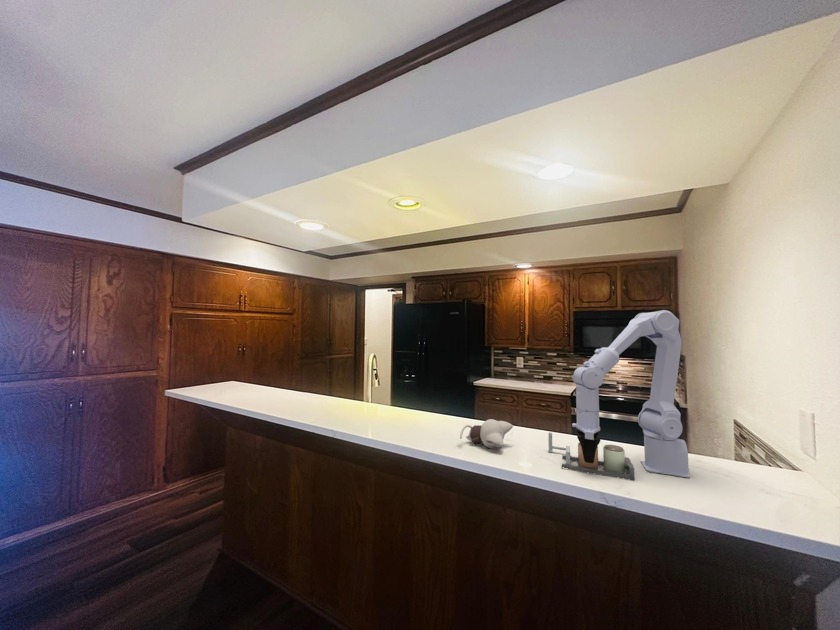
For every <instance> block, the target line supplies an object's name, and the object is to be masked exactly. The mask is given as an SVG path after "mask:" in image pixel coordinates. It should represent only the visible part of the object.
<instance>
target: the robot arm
mask: <svg viewBox="0 0 840 630" xmlns="http://www.w3.org/2000/svg"><path fill="white" fill-rule="evenodd" d="M628 322H629V323H628V325H627V326H626V327H625V328H624V329H623V330H622V331H621V333H619V334H618V336H617V337H616V338H615V339H614V340H613V341H612V342H611V343H610V344H609V346H607V347H604V346H603V347H600V348H596V349H595V350H594V354H593V355H592V357H590V358H589V359H588V360H587V361H584V362H583V363H582V364H583V366H579V367H577V368H576V369H575V370H574V372H573V375H571V379H572V381H573V383H574V384H575V388H576V389H575V397H576V398H575V403H576V405H575V406H576V408H575V409H576V412H575V413H576V423H575V422H573V423H572V424H571V426H572V428H576V432H577V434H576V436H577V440H578V443H579V442H580V444H581V447H582V452H583V457H584V461H585V462H587V463H594V459H595V453H596V449H597V446H598V447H599V445H600V443H601V438H600V437H598V436H599V432H600V431H601V426H600V397H599V396H600V394H599V393H600V392H599V389H600V388H599V387H600V386H602V385H603V383H604V377H605V376H606V375H607V374H608V373H609V372H610V371H611V370H612V369H613V368H614V367H615V366H616V365H617V364H618V363H619V362H620V355H621V354H622V353H623V352H624V351H625V350H627V349H628V348H629V347H630V346H632V344H633V343H634V342H636V341H637V340H638V339H639V338H641V337H646V338H648V339H649V340H651V341H652V342H653V344H655V346H656V352H655V358H654V365H653V373H652V380H651V387H650V394H649V399H648V400H646V401H645V402H644V403H643V404H642V409H641V411H640V412H639V414H637V415H638V416H637V422H638V426H639V427H641V429H642V433H643V444H644V445H643V446H644V459H642V460H641V459H640V463H641V465H643V468H644V470H645V471H646V472H651V473H657V474H664V475H668V476H677V477H682V478H688V479H689V478H690V475H689V474H690V473H689V471H690V470H689V469H690V468H689V452H688V451H689V450H688V446H687V442H686V441H685V440H684V439H682V438H681V439H680V436H681V435H682V433H683V424H682V421H681V412H680V411H679V409H678V408H677V407H676V406H675V404H674V403H675V397H676V389H677V382H678V374H679V367H680V358H681V353H682V341H683V340H682V338H681V335H680V331H679V327H680V326H679V325H680V319H679V318H678V317H676V315H675V314H674V313H673V312H671V311H670V310H666V309H662V310H657V311H651V312H649V311H648V312H639V313H638V314H637V315H635V316H634V318H632V319H631V320H630V321H628Z"/></svg>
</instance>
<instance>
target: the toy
mask: <svg viewBox="0 0 840 630" xmlns="http://www.w3.org/2000/svg"><path fill="white" fill-rule="evenodd" d="M466 428H470V430H469V433H468V435H467V436H465V438H466V439H467V440H469V442H471V443H473V444H475V445H477V444H483V445H484V446H485V447H486V448H488V450H490V449H492V448H493V449H494V448H496V447H498V446H499V447H500V446H504V438H505V435H506V434H507V433H509V432H510V431H511V430H512V428H514V425H513V424H511V423H509V422H507V421H505V420H495V419H493V418H492V419H491V418H490V419H487V420H485V421H484V422H482V425H476V424H474V425H473V426H472V425H470V424H465V425H464V426H463V427H462V428H461V431H460V434H459V439H460V440H461V439H463V433H464V431H465V430H466Z"/></svg>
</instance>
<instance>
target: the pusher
mask: <svg viewBox="0 0 840 630" xmlns="http://www.w3.org/2000/svg"><path fill="white" fill-rule="evenodd" d="M553 450H559V451H565V455H566V460H565V464H569V465H571V461H570V456H571V447H570V446H569V445H565V447H564V446H555V445H553V432H552V431H548V453H553Z"/></svg>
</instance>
